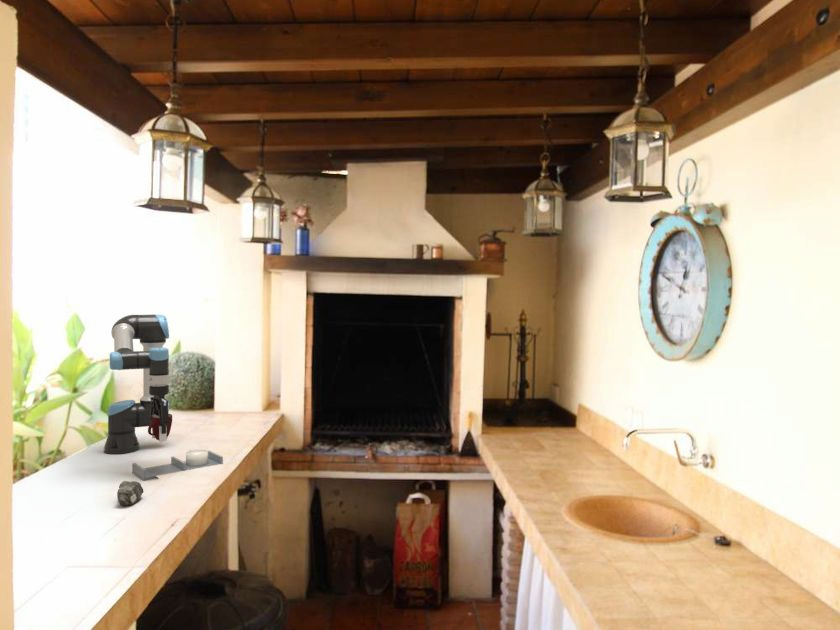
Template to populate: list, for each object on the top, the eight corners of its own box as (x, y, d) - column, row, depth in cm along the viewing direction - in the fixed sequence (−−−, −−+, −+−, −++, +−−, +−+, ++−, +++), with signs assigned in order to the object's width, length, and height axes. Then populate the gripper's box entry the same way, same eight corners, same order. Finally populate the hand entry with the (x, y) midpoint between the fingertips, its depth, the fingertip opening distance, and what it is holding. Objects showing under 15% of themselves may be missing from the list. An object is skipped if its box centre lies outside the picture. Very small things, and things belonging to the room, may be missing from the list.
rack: (132, 473, 257) (132, 463, 257) (209, 459, 279) (209, 450, 279) (143, 480, 246) (143, 470, 246) (222, 466, 269) (222, 456, 268)
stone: (143, 514, 220) (136, 494, 215) (122, 519, 218) (114, 499, 213) (146, 487, 232) (139, 467, 227) (125, 492, 230) (118, 472, 225)
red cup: (157, 444, 251) (158, 420, 250) (142, 441, 253) (142, 417, 252) (176, 438, 261) (176, 414, 260) (160, 435, 263) (161, 412, 262)
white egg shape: (182, 463, 268) (182, 451, 268) (202, 459, 274) (202, 448, 274) (190, 467, 262) (190, 455, 262) (211, 463, 268) (211, 452, 268)
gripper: (141, 383, 261) (141, 436, 262) (158, 388, 246) (158, 445, 247) (159, 381, 266) (159, 434, 267) (177, 386, 251) (177, 442, 252)
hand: (159, 439), depth 257 cm, fingers closed on red cup, 8 cm apart
